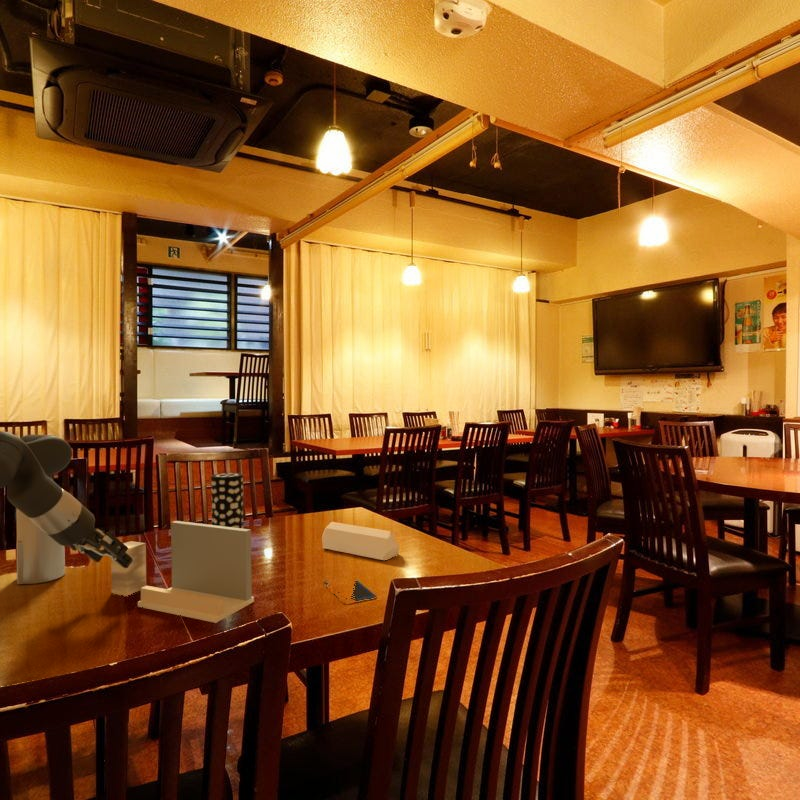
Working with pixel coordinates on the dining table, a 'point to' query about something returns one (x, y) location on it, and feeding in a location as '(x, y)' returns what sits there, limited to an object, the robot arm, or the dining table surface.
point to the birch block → (130, 571)
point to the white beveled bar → (360, 541)
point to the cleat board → (205, 573)
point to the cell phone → (360, 592)
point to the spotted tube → (227, 499)
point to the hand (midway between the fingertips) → (114, 561)
